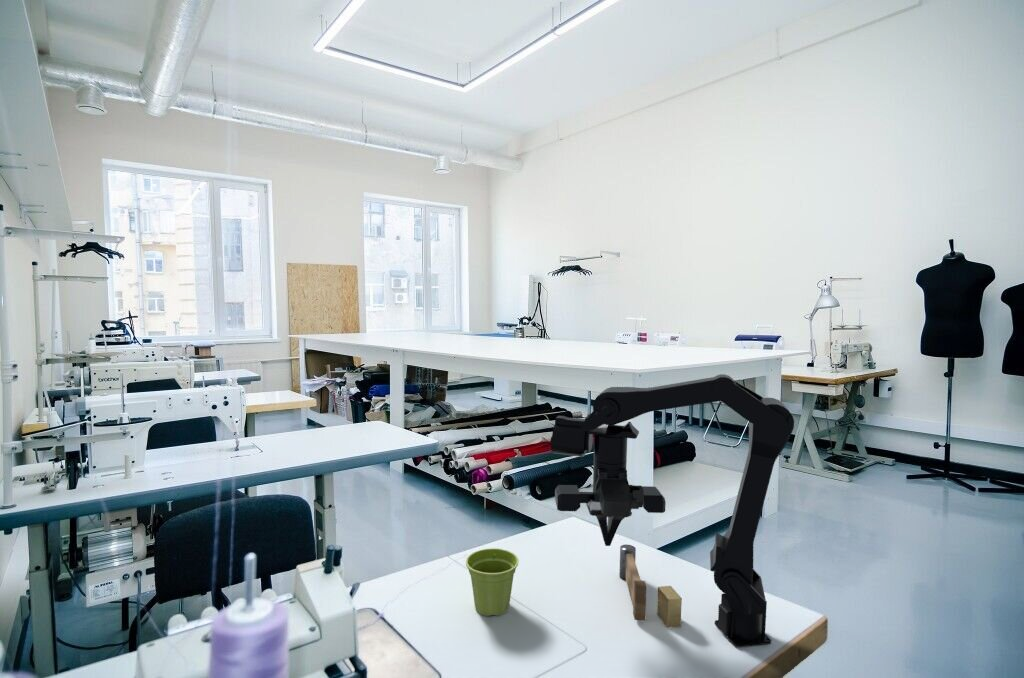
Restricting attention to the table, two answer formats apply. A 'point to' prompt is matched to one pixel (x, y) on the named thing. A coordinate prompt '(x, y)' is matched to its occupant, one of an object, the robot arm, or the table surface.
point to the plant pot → (492, 579)
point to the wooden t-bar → (636, 588)
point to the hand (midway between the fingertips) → (607, 545)
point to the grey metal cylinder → (623, 551)
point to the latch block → (669, 606)
